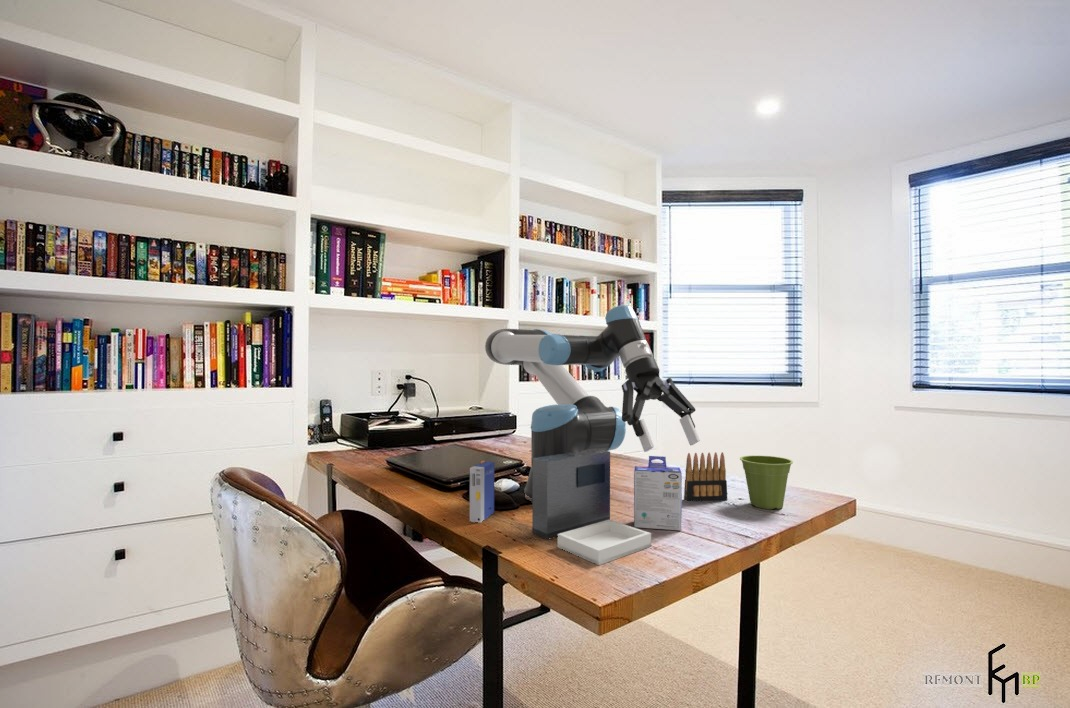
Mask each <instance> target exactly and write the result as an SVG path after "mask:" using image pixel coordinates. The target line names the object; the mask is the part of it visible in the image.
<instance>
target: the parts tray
mask: <svg viewBox="0 0 1070 708" xmlns="http://www.w3.org/2000/svg"><path fill="white" fill-rule="evenodd" d="M651 547H652V532H649V531H646V530H643V529H641V528H636V527H634V526H630V525H628V524H625V523H621V522H618V521H616V520H613V519H611V518H610V519H609V520H605V521H602V522H598V523H595V524H591V525H588V526H584V527H581V528H577V529H574V530H570V531H567V532H563V533H560V534H558V537H557V548H558V549H560V550H562V549H563V551H564V550H565V552H567V551H568V552H567V553H569V552H570V554H571V553H572V555H574V556H576V557H578V556H579V558H581V559H582V560H585V561H588V562H590V563H593V564H594V563H595V565H597V566H601V565H603V564H606V563H609V562H612V561H615V560H618V559H621V558H623V557H626V556H628V555H632V554H634V553H637V552H639V551H642V550H646V549H648V548H651Z"/></svg>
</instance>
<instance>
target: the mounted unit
mask: <svg viewBox="0 0 1070 708" xmlns="http://www.w3.org/2000/svg"><path fill="white" fill-rule="evenodd" d="M531 503H532V515H531V516H532V519H531V522H532V526H531V527H532V530H531V531H532V533H533V534H532V533H531V534H532V535H535V534H536V535H535V536H537V535H538V536H537V537H539V536H540V538H542V537H543V538H542V539H544V538H546V539H548V540H550V539H549V538H552V539H554V538H553V537H555V538H558V537H557V536H558V534H560V533H563V532H567V531H570V530H574V529H577V528H581V527H584V526H588V525H591V524H595V523H598V522H602V521H605V520H609V519H610V520H611V451H610V450H609V451H604V450H599V449H590V450H584V451H577V452H570V453H564V454H557V455H551V456H544V457H538V458H533V498H532V502H531ZM546 539H545V540H546Z"/></svg>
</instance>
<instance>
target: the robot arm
mask: <svg viewBox="0 0 1070 708" xmlns="http://www.w3.org/2000/svg"><path fill="white" fill-rule="evenodd" d="M605 323H606V325H607V327H605V328H604V330H602V331H601V333H599V334H598V335H574V334H573V335H572V334H559V333H553V334H551V333H550V332H549V331H547V330H542V329H539V328H538V329H537V328H534V329H522V328H519V329H518V328H500V329H498V330H497V329H496V330H494V331H493V332H491V333H490V335H488V337H487V338H486V341H485V345H484V349H485V353H486V355H487V357H488V358H489V359H490V360H491V361H493V362H494V363H496V364H500V365H505V366H507V365H508V366H509V365H511V366H513V365H514V366H522V368H523V369H524V370H525V372H526V373H528V374H529V375H534V376H535V378H537V379H538V381H539V382H540V383H541V385H542V386H543V387H544V389H545V390H546V391H547V393H549V395H550V397H551V398H552V399H553V400H554V402H555V403H556V404H550V405H545V406H541V407H538V408H536V409H535V410H534V411H533V412H532V415H531V425H530V430H531V431H530V432H531V439H530V440H531V441H530V442H531V443H530V445H531V447H530V449H531V450H530V451H531V459H530V460H531V462H530V463H531V464H530V465H531V466H530V470H529V474H528V477H527V480H526V485H525V486H524V493H525V494H526V495H527V496H529V497H530V498H533V458H538V457H544V456H551V455H557V454H564V453H570V452H577V451H584V450H590V449H599V450H604V451H609V452H610V451H613V450H616V449H618V448H619V447H621V445H622V444H623V442H624V440H625V437H626V432H627V427H626V423H627V425H628V426H632V429H633V431H634V434H635V436H636V437H638V438H639V441H640V445H641V447H642V450H643V452H644V453H646V452H649V451H650V450H652V449H653V448H655V445H654V443H653V440H652V438H651V435H650V432H649V430H648V427H647V425H646V422H645V420H644V418H643V419H642V418H641V415H642V411H643V409H644V406H645V403H646V401H650V400H654V401H655V400H657V401H658V402H662V403H663V404H664V405H665V406H666V407H668V408H669V409H671V410H672V411H673V413H675V414H677V416H678V417H680V419H679V423H680V425H681V427H682V430H683V432H684V434H685V436H686V439H687V441H688V444H689V446H694V445H695V444H697V443H699V442H701V439H700V437H699V435H698V433H697V430H696V425H695V423H694V422H695V421H694V420H693V418H692V414H693V413H694V412H696V408H695V407H694V405H693V404H692V403H691V402H690V400H688V398H687V397H686V396H685V395H684V394H683V392H681V391H680V389H679V388H678V387H677V386H676V385H675V383H674V381H673V379H672V378H671V377H668V378H667V379H665V380H663V379H662V378H661V377H660V368H659V366H658V363H657V360H656V359H655V358H654V354H653V352H652V350H651V347H650V345H649V342H648V340H647V338H646V335H645V333H644V331H643V328H642V326H641V322H640V320H639V318H638V316H637V314H636V312H635V310H634V309H633V307H632V306H630V305H627V304H622V305H617V306H615V307H613V308H611V309H609V310H608V311H607V312H606V314H605ZM618 358H620V361H621V364H622V366H623V368H624V369H625V370H624V371H625V373H626V377H627V380H626V381H624V383H623V384H622V385H621V389H622V392H623V394H622V410H620V409H619V408H617V407H614V406H606V405H605V404H604V403H603V401H601V400H600V399H599V398H598V397H597V396H595V395H589V394H588V393H587V392H586V391H585V390H584V388H583V387H582V386H581V385H580V384H579V383H578V381H577V380H576V378H574V377H573V375H572V374H571V373H570V372H569V371H568V369H567V368H566V367H565V366H573V365H575V366H578V365H579V366H585V367H586V368H587V369H588V370H592V371H593V372H595V373H598V372H602V371H604V370H605V369H606V368H608V367H609V366H611V365H612V364H613V363H614V361H616V360H617V359H618ZM634 391H635V392H636V396H635V399H634ZM634 400H635V402H634ZM524 493H523V494H524Z"/></svg>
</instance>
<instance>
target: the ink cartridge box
mask: <svg viewBox="0 0 1070 708" xmlns="http://www.w3.org/2000/svg"><path fill="white" fill-rule="evenodd" d="M666 459H667V457H666V456H659V455H648V465H647V466H643V465H641V466H637V465H635V466H634V470H633V500H634V501H633V505H634V507H633V516H634V517H633V527H634V528H637V529H654V530H656V529H657V530H667V531H678V532H679V531H682V517H683V516H682V515H683V514H682V511H683V501H682V500H683V497H682V496H683V494H682V493H683V487H682V485H683V483H682V479H683V478H682V477H683V476H682V471H681V468H680V467H678V466H677V467H674V466H673V467H672V466H667V460H666ZM655 460H659V461H662V462H652V461H655Z"/></svg>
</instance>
